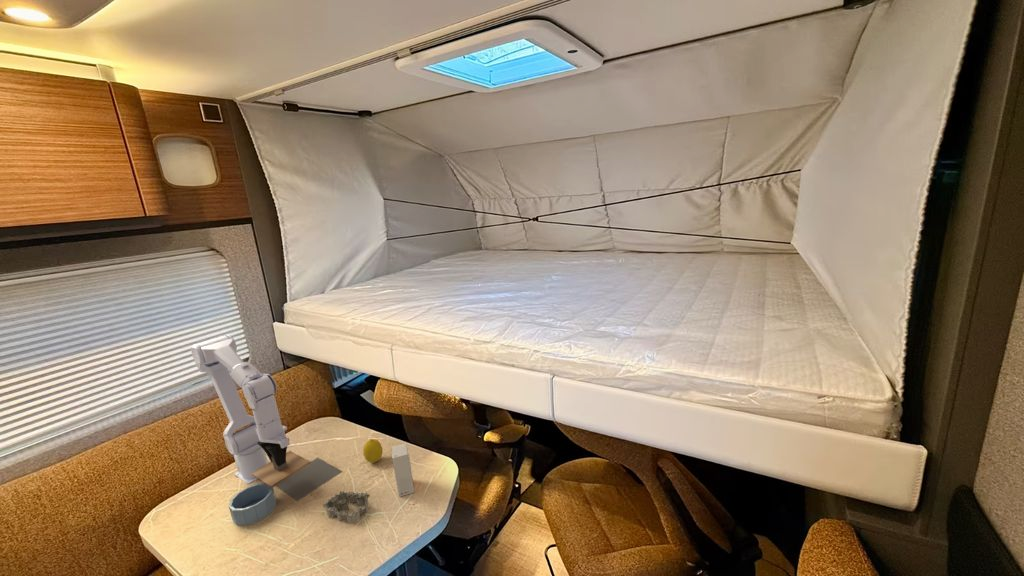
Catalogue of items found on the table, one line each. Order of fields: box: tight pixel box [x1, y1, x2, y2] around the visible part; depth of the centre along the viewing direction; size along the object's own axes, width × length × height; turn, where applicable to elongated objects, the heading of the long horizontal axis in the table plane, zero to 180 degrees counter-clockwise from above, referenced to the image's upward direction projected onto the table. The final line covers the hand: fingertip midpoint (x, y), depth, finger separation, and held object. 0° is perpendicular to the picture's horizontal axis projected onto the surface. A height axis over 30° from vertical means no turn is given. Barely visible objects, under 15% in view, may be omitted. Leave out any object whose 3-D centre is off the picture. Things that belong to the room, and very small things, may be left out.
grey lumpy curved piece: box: [322, 490, 370, 524], centre depth 110 cm, size 11×8×4 cm
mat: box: [275, 457, 343, 502], centre depth 125 cm, size 14×14×1 cm
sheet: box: [252, 450, 311, 489], centre depth 118 cm, size 11×11×5 cm
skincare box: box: [391, 443, 415, 497], centre depth 116 cm, size 6×4×12 cm
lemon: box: [363, 438, 383, 464], centre depth 129 cm, size 6×6×8 cm
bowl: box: [228, 482, 277, 526], centre depth 113 cm, size 10×10×5 cm
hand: (278, 462), depth 118 cm, fingers closed on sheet, 2 cm apart
